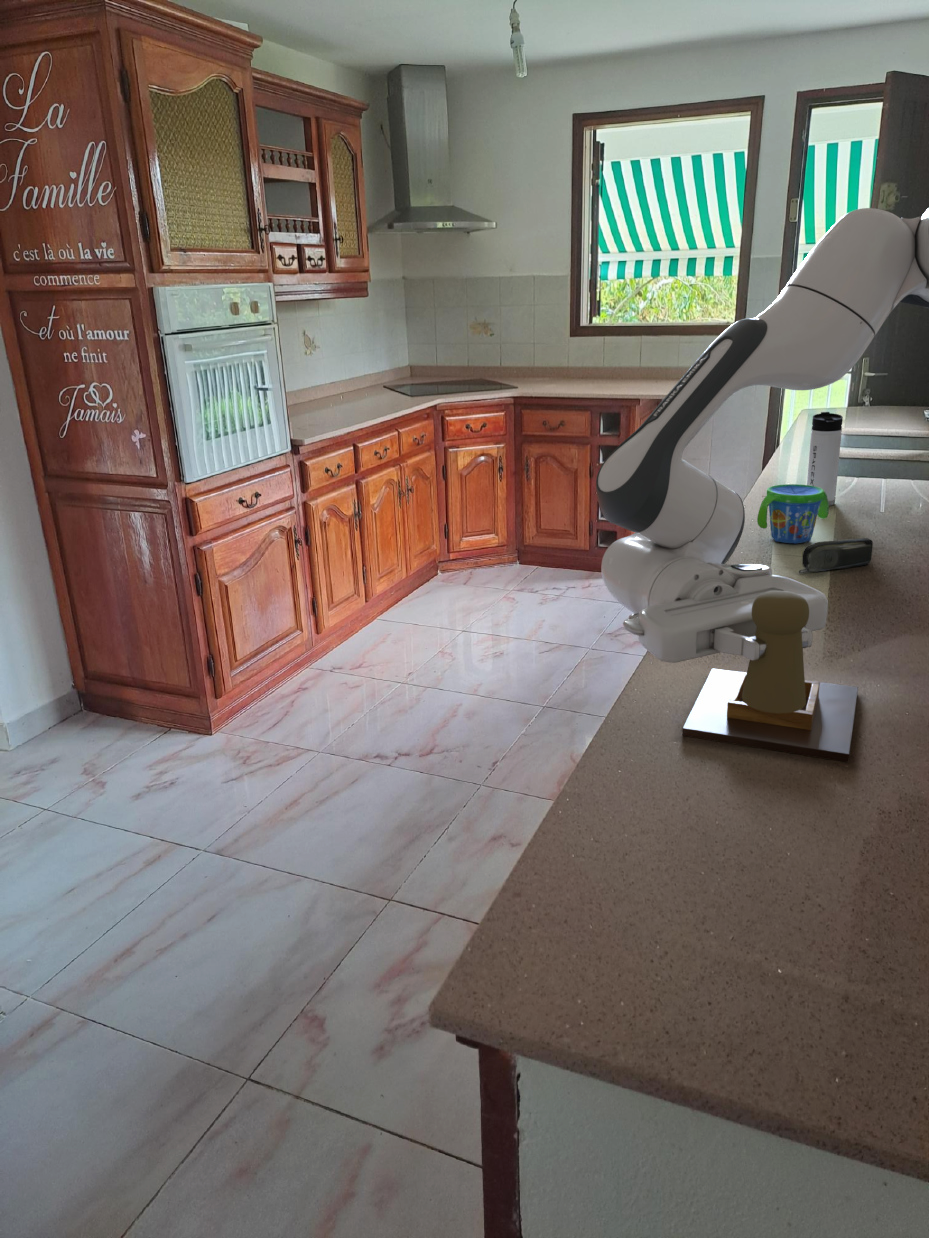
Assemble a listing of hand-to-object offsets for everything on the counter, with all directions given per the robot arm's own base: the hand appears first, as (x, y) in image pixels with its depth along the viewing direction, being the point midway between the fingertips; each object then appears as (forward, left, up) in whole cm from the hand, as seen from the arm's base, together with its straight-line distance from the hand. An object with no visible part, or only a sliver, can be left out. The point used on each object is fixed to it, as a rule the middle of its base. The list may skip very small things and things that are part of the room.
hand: (784, 646), depth 84 cm
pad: (-12, -15, -17) cm, 25 cm away
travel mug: (-89, -93, -17) cm, 130 cm away
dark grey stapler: (-58, -55, -17) cm, 82 cm away
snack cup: (-64, -73, -17) cm, 98 cm away
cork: (0, -1, -6) cm, 6 cm away
